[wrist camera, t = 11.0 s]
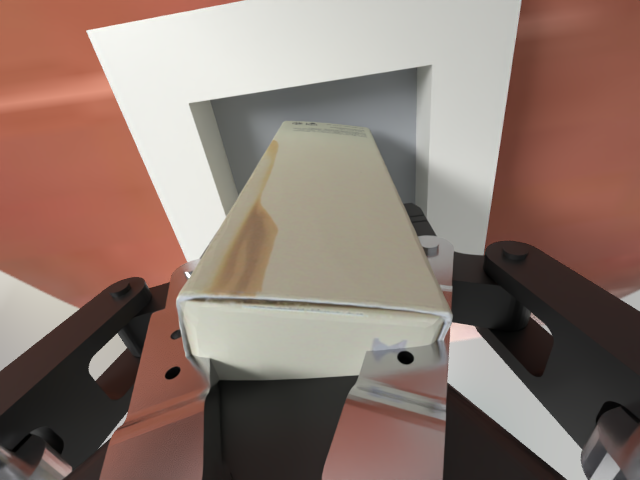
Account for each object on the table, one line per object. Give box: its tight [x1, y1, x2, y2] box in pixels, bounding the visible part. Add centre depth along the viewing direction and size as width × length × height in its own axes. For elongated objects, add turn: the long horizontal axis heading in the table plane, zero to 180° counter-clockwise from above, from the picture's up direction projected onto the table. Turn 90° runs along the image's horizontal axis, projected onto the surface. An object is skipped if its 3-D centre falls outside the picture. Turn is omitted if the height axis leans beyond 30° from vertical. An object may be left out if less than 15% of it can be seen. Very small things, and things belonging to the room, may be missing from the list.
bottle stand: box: [87, 0, 522, 262], centre depth 17 cm, size 16×16×4 cm
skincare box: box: [176, 121, 453, 380], centre depth 11 cm, size 6×4×12 cm
